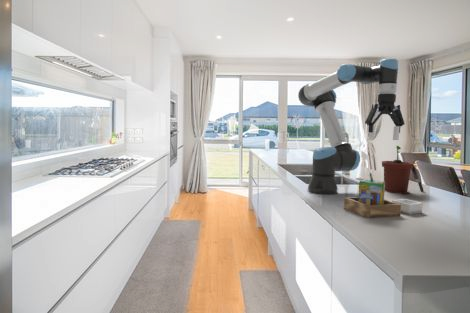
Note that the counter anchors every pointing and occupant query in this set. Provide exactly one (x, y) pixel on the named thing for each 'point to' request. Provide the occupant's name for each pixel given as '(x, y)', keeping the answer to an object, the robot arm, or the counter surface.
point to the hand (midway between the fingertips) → (383, 140)
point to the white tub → (409, 206)
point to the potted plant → (399, 175)
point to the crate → (372, 208)
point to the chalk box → (371, 191)
